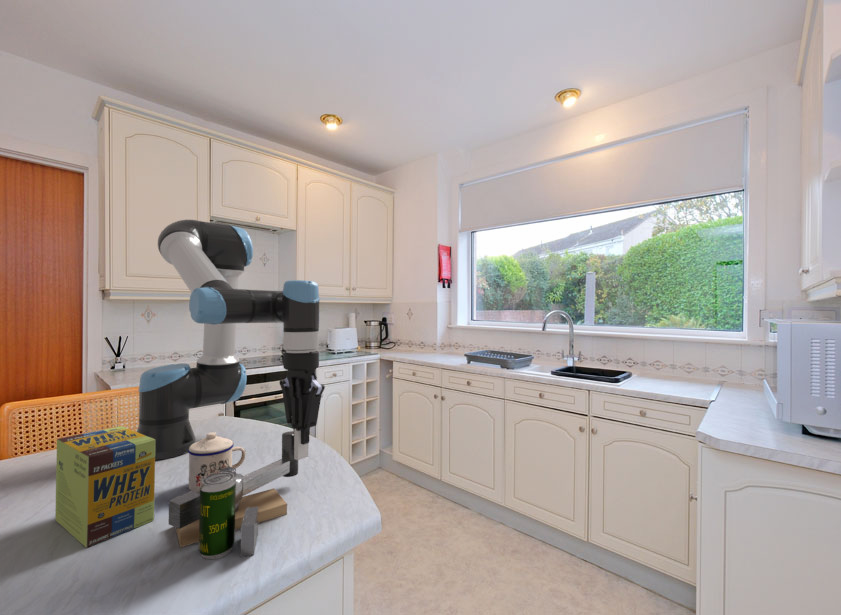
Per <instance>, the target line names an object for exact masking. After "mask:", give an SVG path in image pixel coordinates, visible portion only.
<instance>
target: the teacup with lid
mask: <svg viewBox="0 0 841 615" xmlns="http://www.w3.org/2000/svg"><path fill="white" fill-rule="evenodd" d="M235 451H240V452H241V456H240V459H239V460H238V462H237V463H234V464H233V452H235ZM187 453H188V454H189V456H188V463H189V464H188V488H189V491H195V492H197V493H200V486H201V484H202V480H203V479H204V478H205V477H207V476H209V475H212V474H215V473H220V470H221V469H223V468H227V467H234V468H236V469H238V468H239V467H241V465H243V463H244V462H245V460H246V456H247V453H246V450H245V449H244V448H243V447H242V446H234V441H232V440H231V439H229V438H225V437H221V436H218V435H217V432H213V431H212V432H208V433H207V434H206V437H203V438H202V439H201V440H199V441H195V443H194V444H192V445H191V446H190V447H189V450H188V452H187Z"/></svg>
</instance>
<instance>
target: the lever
mask: <svg viewBox="0 0 841 615" xmlns="http://www.w3.org/2000/svg"><path fill="white" fill-rule="evenodd" d="M293 437H294V436H293V431H292V430H291V431H286V432H283V433H282V434H281V458H280V459H278V460H275V461H273V462H272V463H270V464H267V465H264V466H262V467H260V468H258V469H256V470H254V471H252V472H249V473H246V474H244V475H242V474H240V473H238V472H236V476H235V477H234V478H235V480H236V504H237V503H239V502H240V501H241V500H242V497H244V496H247V495H248V494H250V493H252V492H254V491H256V490H258V489H260V488H262V487H264V486H265V485H268V484H270V483H272V482H273V481H276V480H277V479H279V478H281V477H285V478H291V477H296V476H297V475H298V474H299V460H296V459H294V439H293ZM199 506H200V493H197V492H195V491H191V490H189V491H187V492H185V493H182V494H181V495H179V496H177V497H174V498H172V499H169V500H168V525H169V526H172V527H174V528H175V527H176V528H178V529H181V528H183V527H185V526H187V525H189V524H191V523H193V522H195V521H197V520H199ZM176 528H175V529H176Z"/></svg>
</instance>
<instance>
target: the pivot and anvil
mask: <svg viewBox="0 0 841 615" xmlns="http://www.w3.org/2000/svg"><path fill="white" fill-rule="evenodd" d="M221 472H228V473H232V474H234V475H235V476H236V473H237V468H234V467H227V468H223V469H221V470H220V473H221ZM238 510H239V503H237V504H236V505H235V513H236V512H237V511H238ZM258 536H259V523H258V507H250V508H246V511H245V514H244V518H243V522H242V525H241V528H240V558H242V557H248V556H249V557H250V556H254V555H255V551H256V546H257V541H258Z"/></svg>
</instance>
